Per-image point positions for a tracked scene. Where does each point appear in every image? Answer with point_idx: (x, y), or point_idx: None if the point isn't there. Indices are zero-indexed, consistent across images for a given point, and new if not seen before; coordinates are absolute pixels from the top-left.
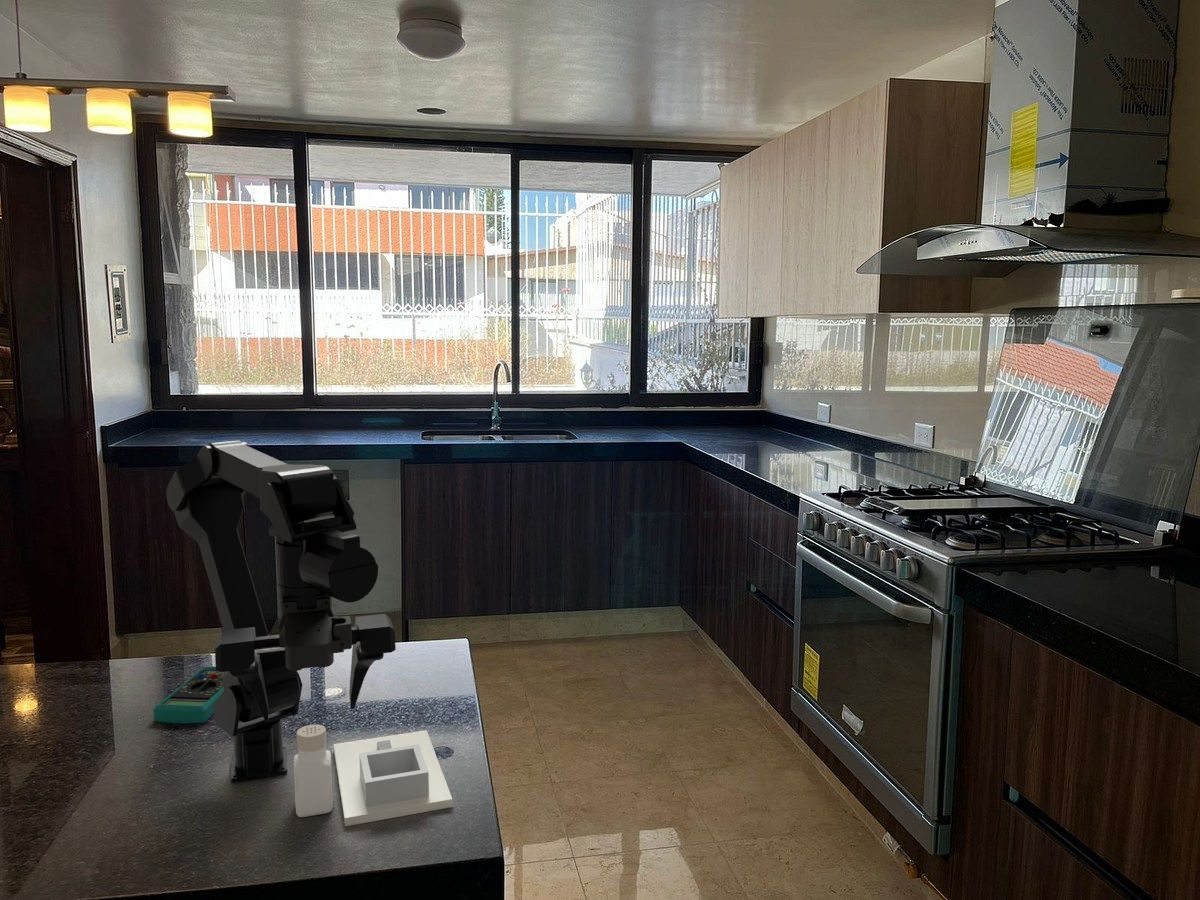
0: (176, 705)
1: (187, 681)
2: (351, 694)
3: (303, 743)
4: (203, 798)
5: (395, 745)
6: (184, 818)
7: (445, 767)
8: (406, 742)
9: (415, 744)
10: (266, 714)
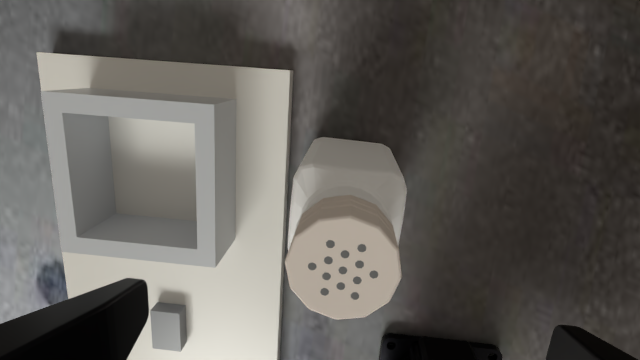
0: None
1: None
2: (81, 318)
3: (379, 219)
4: (562, 311)
5: (147, 335)
6: (616, 250)
7: None
8: None
9: None
10: (590, 343)
